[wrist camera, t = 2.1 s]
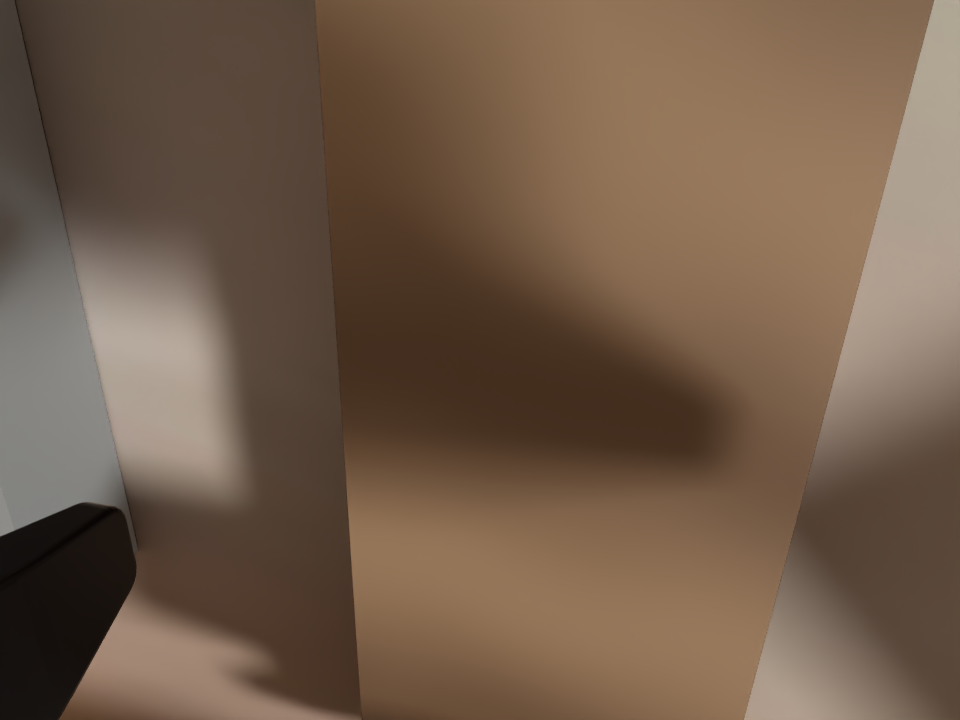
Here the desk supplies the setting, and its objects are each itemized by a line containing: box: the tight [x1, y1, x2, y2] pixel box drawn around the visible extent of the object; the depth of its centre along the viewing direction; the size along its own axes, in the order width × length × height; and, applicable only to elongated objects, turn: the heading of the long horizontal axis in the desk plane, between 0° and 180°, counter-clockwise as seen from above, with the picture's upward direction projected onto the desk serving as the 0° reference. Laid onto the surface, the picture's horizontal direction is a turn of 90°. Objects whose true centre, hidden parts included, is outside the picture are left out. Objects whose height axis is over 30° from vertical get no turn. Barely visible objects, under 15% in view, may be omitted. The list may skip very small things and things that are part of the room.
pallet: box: [315, 0, 934, 720], centre depth 11 cm, size 24×6×5 cm, turn 179°
